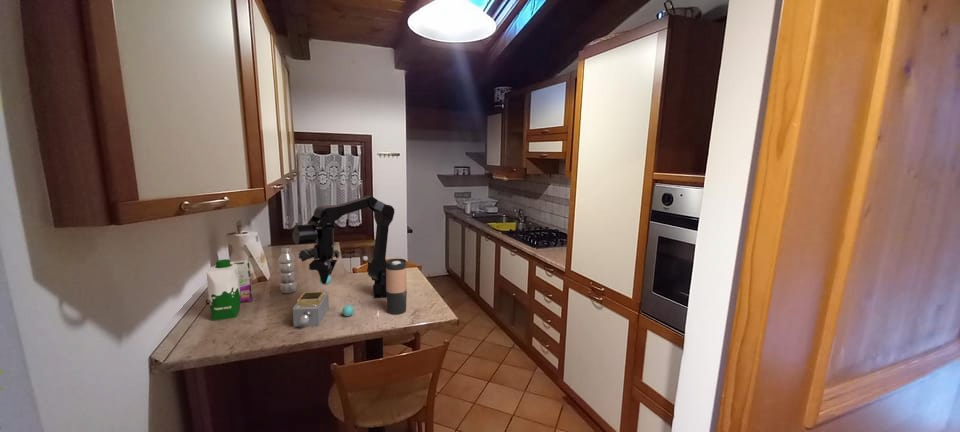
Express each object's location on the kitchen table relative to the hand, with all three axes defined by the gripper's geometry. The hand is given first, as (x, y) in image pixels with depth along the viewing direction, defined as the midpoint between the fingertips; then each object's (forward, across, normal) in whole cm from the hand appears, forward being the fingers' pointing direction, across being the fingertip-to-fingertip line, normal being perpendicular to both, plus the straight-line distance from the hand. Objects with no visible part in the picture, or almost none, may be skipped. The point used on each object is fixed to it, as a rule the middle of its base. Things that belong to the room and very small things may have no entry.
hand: (325, 281), depth 125 cm
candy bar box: (+13, -16, -38) cm, 43 cm away
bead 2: (+10, +3, +9) cm, 14 cm away
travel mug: (+12, +1, +26) cm, 29 cm away
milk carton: (+13, -3, -35) cm, 38 cm away
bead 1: (-1, 0, 0) cm, 1 cm away
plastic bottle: (+13, -24, -21) cm, 34 cm away
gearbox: (+13, +4, -4) cm, 14 cm away
